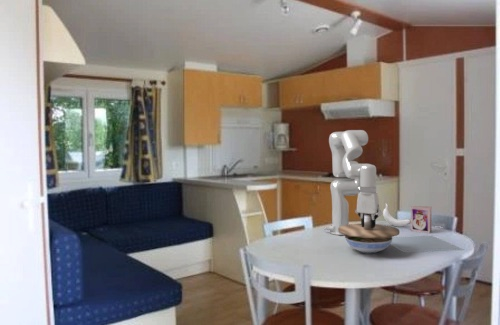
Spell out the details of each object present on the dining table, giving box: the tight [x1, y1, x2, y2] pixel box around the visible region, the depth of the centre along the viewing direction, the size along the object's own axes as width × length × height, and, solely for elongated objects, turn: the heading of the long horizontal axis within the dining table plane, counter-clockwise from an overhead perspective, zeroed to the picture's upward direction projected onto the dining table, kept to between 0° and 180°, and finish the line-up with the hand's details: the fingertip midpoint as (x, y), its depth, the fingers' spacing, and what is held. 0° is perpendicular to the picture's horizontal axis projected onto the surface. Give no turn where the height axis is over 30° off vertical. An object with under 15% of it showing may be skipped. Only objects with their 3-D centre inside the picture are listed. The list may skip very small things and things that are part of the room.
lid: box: [338, 214, 400, 238], centre depth 212 cm, size 29×29×8 cm
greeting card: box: [410, 205, 433, 234], centre depth 254 cm, size 11×7×15 cm, turn 42°
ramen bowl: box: [339, 235, 392, 254], centre depth 212 cm, size 25×23×8 cm
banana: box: [382, 202, 411, 228], centre depth 270 cm, size 5×19×15 cm, turn 45°
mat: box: [389, 235, 465, 253], centre depth 225 cm, size 31×31×1 cm
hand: (368, 226), depth 212 cm, fingers closed on lid, 4 cm apart
